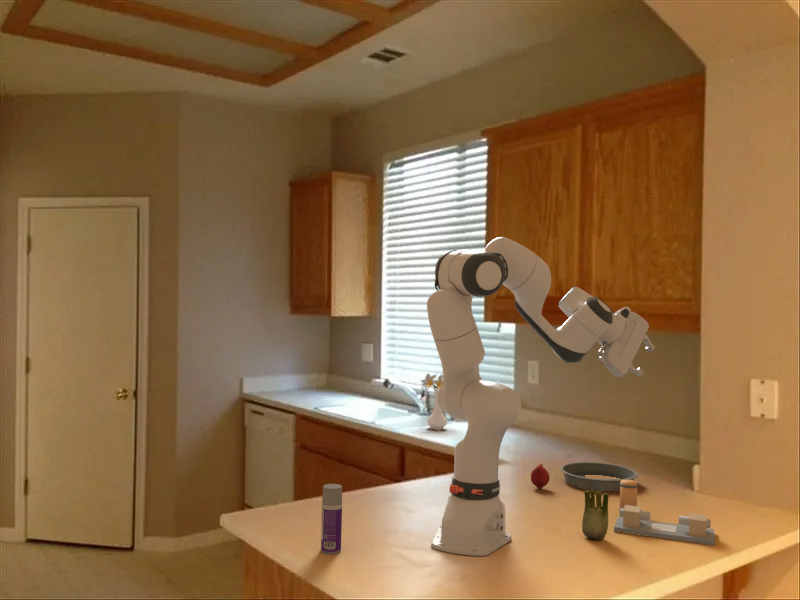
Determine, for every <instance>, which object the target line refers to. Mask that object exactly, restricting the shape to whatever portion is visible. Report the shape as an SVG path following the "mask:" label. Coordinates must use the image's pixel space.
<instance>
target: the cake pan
mask: <svg viewBox="0 0 800 600" xmlns="http://www.w3.org/2000/svg"><path fill="white" fill-rule="evenodd" d="M560 471H561V472H562V473H563V475H564V480H565V482H566V483H567V484H568V485H570V486H571V487H572V486H573V487H575V488H578V489H583V490H586V491H595V492H606V491H615V492H620V481H621V480H634V481H635V479H636V478H637V477H638V475H639V474H638V473H637V471H635V470H634V469H632V468H630V467H626V466H623V465H618V464H615V463H614V464H612V463H606V462H595V461H594V462H593V461H589V462H588V461H578V462H570V463H566V464H563V465H561V467H560ZM585 475H603V476H610V477H616V478H620V479H594V478H586V477H585Z"/></svg>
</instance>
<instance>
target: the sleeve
mask: <svg viewBox="0 0 800 600" xmlns="http://www.w3.org/2000/svg"><path fill="white" fill-rule="evenodd" d="M638 482H639V481H636V480H635V479H634V480H621V481H620V491H619V512H620V508H623V509H624V507H625V505H631V506H638V488H639V486H638V485H639V484H638Z"/></svg>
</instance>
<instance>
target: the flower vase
mask: <svg viewBox="0 0 800 600" xmlns="http://www.w3.org/2000/svg"><path fill="white" fill-rule="evenodd" d="M442 384H443V374H440V375H439V376H438V377H437V374H434V375H431V374H430V373H426V375H425V377H424V379H422V380H421V387H423V388H424V387H425V391H428V390H429V389H430V388H431V387H432V388H433V392H434V400H433V401H434V402H433V403H434V405H433V410H432V413H431V415H430V416H428V417H427V420H426V422H427V423H426V424H427V425H428V426H429V427H430V428H431V429H430V428H429V429H430V430H432V429H435V430H434V431H442V430H441V429H443V430H444V428H445V427H446V426H447V425H448V418H447V417H446V416H445V415H444V413H443V411H442V410H441V408H440V407H439V404H438V399H437V396H438V391H439V388H440V386H441V385H442Z"/></svg>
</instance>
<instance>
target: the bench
mask: <svg viewBox="0 0 800 600" xmlns="http://www.w3.org/2000/svg"><path fill="white" fill-rule="evenodd" d="M619 508H620V507H619ZM711 521H712V520H711V519H708V518H707V514H702V513H695V512H689V515H688V516H685V515H678V524H676V523H670V522H662V521H661V522H660V521H652V520H651V511H645V510H642V507H641V506H638V505H637V506H631V505H625V507H624V509H623V508H620V511H619V516H617V518H616V521H615V524H614V526H613V532H614V531H619V532H618V533H620V532H625V533H624V534H628V533H633V534H632V535H635V534H640V535H639V536H642V535H646V536H645V537H649V536H653V537H652V538H656V537H659V538H658V539H664V538H665V540H671V539H672V540H673V541H677V542H678V541H680V542H685V543H686V542H687V543H695V544H701V545H708V546H715V545H716V540H715V539H716V538H715V529H714V528H711Z"/></svg>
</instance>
